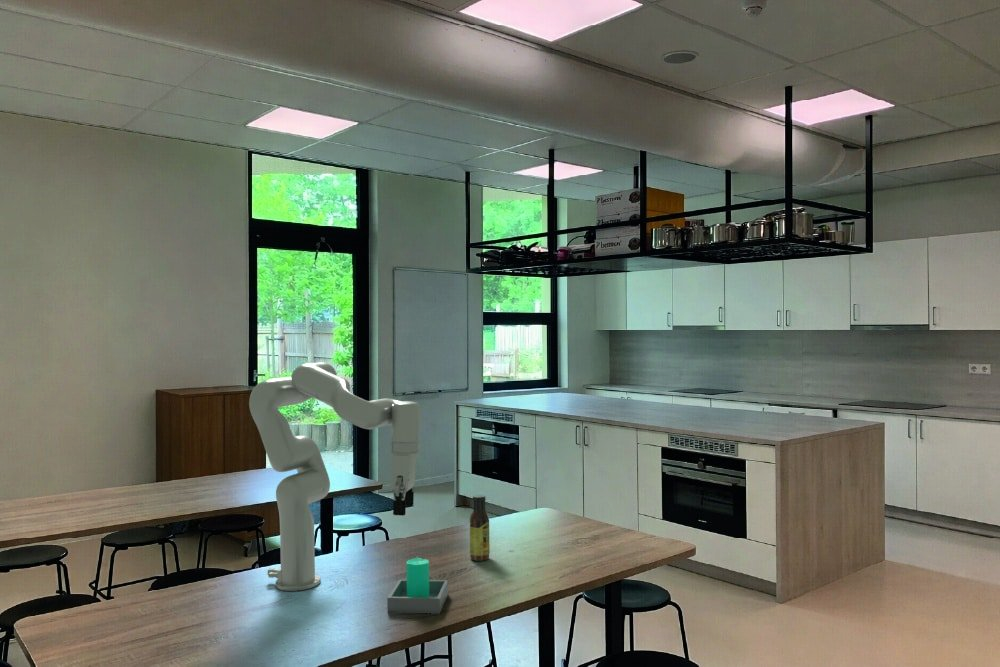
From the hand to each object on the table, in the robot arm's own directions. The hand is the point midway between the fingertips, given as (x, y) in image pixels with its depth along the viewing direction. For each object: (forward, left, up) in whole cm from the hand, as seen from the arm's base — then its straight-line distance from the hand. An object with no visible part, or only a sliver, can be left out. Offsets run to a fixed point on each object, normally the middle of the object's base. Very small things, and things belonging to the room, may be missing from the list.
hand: (403, 510), depth 198 cm
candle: (+4, -3, -24) cm, 24 cm away
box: (+4, -3, -24) cm, 25 cm away
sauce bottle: (+17, +35, -24) cm, 46 cm away
